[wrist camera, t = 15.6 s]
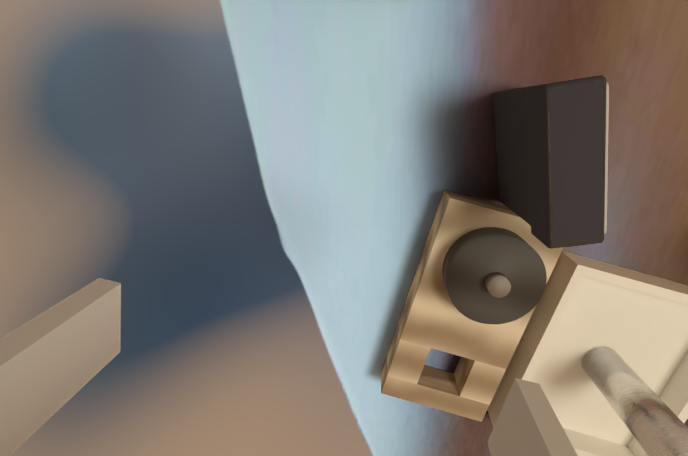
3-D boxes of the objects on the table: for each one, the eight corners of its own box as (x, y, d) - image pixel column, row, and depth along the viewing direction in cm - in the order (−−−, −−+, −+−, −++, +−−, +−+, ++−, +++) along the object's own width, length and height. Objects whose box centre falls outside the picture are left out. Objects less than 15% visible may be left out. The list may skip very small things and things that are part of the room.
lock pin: (590, 342, 43) (681, 445, 30) (625, 352, 43) (731, 460, 30) (575, 370, 45) (655, 482, 31) (609, 380, 45) (704, 496, 31)
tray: (560, 250, 42) (577, 264, 38) (724, 295, 41) (758, 314, 38) (486, 407, 48) (495, 433, 45) (626, 447, 48) (647, 476, 44)
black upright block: (535, 195, 40) (617, 243, 26) (492, 201, 41) (549, 251, 27) (531, 86, 37) (621, 71, 23) (485, 94, 38) (545, 85, 24)
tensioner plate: (444, 189, 41) (457, 208, 33) (553, 219, 41) (593, 245, 33) (381, 370, 48) (380, 420, 41) (474, 397, 48) (491, 452, 40)
